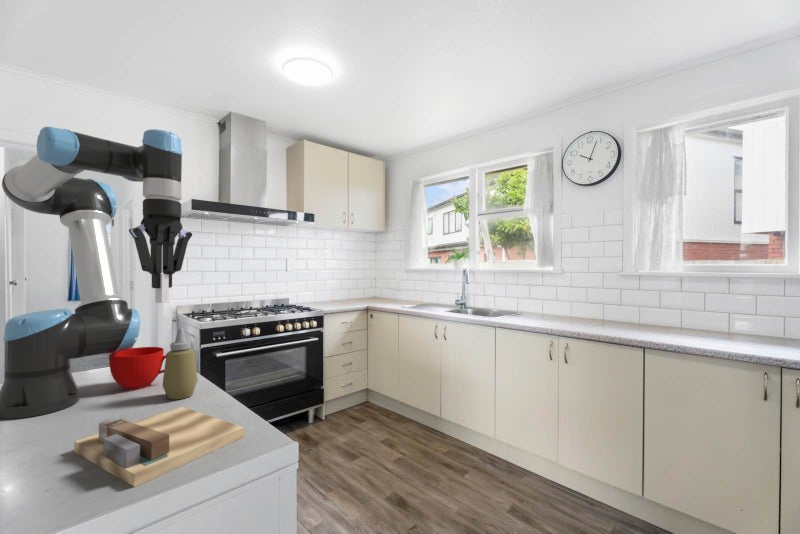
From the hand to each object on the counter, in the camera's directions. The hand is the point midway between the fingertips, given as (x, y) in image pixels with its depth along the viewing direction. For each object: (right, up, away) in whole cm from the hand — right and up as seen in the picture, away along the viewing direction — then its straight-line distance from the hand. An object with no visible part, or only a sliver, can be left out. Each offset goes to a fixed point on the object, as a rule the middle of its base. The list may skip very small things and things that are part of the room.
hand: (161, 302), depth 86 cm
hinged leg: (+6, -24, -18) cm, 31 cm away
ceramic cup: (-19, -27, +23) cm, 40 cm away
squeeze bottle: (-4, -27, +14) cm, 30 cm away
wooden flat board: (+9, -26, -13) cm, 31 cm away
